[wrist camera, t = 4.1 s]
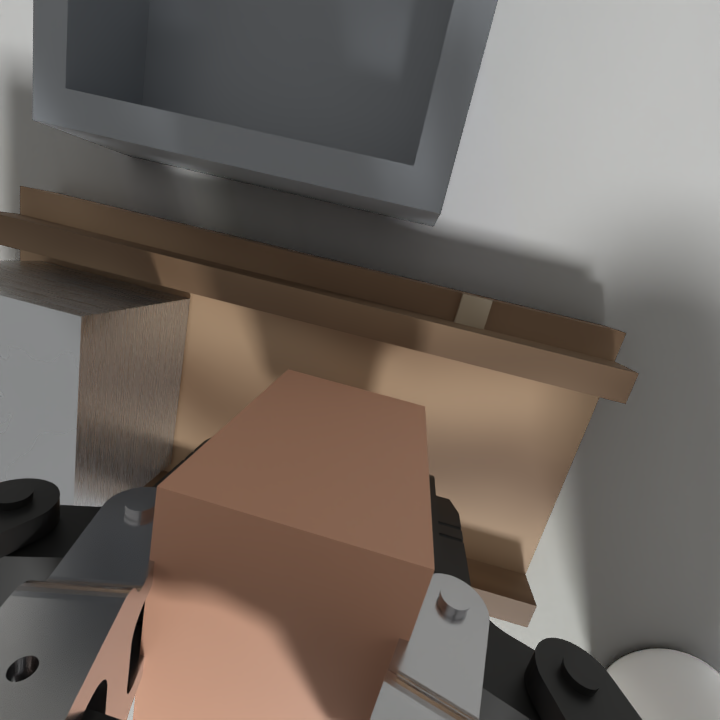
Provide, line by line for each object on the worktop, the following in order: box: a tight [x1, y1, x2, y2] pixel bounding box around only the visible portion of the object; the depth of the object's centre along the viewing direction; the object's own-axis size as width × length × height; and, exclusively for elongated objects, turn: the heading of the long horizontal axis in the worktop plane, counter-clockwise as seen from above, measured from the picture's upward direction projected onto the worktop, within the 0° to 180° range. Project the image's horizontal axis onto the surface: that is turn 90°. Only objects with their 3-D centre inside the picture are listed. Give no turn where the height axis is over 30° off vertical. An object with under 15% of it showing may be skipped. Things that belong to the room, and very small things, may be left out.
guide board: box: [0, 186, 639, 627], centre depth 15 cm, size 12×22×3 cm, turn 77°
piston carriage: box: [0, 261, 190, 507], centre depth 13 cm, size 7×6×5 cm
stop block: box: [133, 369, 435, 720], centre depth 9 cm, size 5×4×6 cm
